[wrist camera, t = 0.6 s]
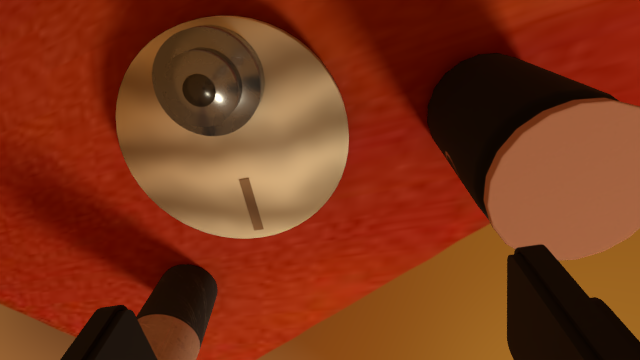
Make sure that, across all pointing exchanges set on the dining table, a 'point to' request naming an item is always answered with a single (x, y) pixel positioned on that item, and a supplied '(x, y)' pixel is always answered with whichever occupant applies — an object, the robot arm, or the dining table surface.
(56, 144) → the dining table surface
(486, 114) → the coffee jar
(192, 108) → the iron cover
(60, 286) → the dining table surface
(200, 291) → the travel mug
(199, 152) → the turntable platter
